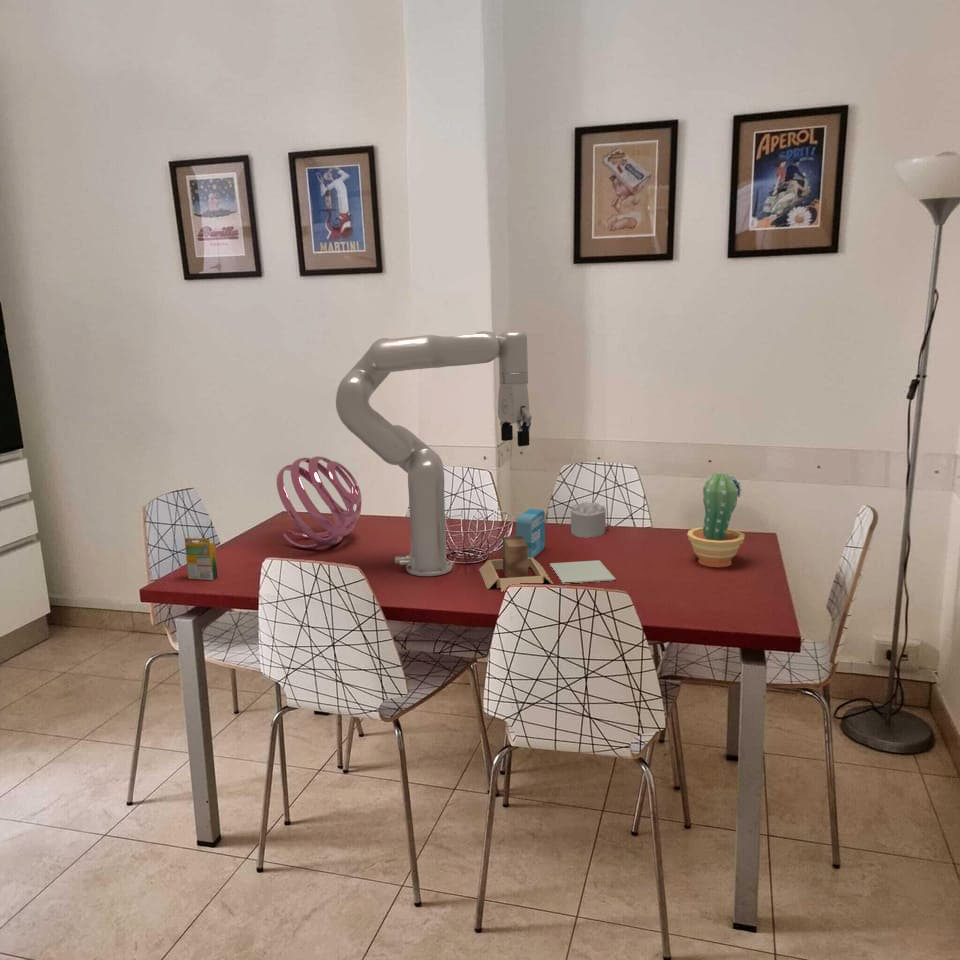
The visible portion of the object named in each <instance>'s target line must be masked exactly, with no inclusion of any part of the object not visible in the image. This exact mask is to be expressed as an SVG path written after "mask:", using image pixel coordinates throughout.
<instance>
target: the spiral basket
mask: <svg viewBox="0 0 960 960" xmlns="http://www.w3.org/2000/svg"><path fill="white" fill-rule="evenodd" d="M320 460H321V461H323V462H325V463H326V467H325V466H324V465H323V463H320V462H319V461H320ZM302 462H303V463H306V464H308V465H307V466H308V467H307V468H308V470H307V469H305V468H304V467H302V466H300V463H302ZM285 471H290V478H291V482H292V486H293V488H294V491H295V493H296V495H297V497H298V499H299V501H300V502H301V504H302V505H303V507H304V508H305V510H306V511H307V513H308V514H309V515H310V516H311V517H312V518H313V520H315V521H316V523H317V524H319V526H320V527H322V528H323V529H324V530H326V531H323V532H315V531H314V530H313V529H312V528H311V527H310V526H309V525H308V524H307V523H306V522H305V521H304V520H303V519H302V517H301V516H300V515H299V513H298V512H297V511H296V509H295V507H294V506H293V504H292V502H291V500H290V498H289V495H288V493H287V491H286V488H285V483H284V474H285V473H284V472H285ZM319 472H320V473H322V474H323V476H324V477H325V478H326V479H327V480H328V481H329V483H331V485H332V486H333V487H334V489H335V490H336V491H337V493H338V494H339V497H340V498H341V500H342V502H343V504H344V506H345V508H343V507H342V506H341V505H340V504H339V503H337V502H336V501H335V499H334V498H333V496H332V494H330V492H329V491H328V490H327V488H326V487H325V485H324V484H323V483H324V482H322V478H321V477H320V474H319ZM336 472H337V473H338V475H339V476H340V477H341V478H342V479H343V480H344V482H345V484H346V486H348V489H349V490H350V492H349V491H348V490H347V489H346V488H345V487H344V485H343V484H342V483H341V481H340V480H339V477H338V476H337V473H336ZM301 477H303V479H305V480H306V481H308V482H309V483H310V484H311V485H312V486H313V488H314V489H315V490H316V492H317V494H318V495H319V497H320V499H321V500H322V502H323V503H325V505H326V506H327V508H329V510H330V512H331V515H332V516H333V520H334V522H335V524H334V523H332V522H331V521H330V520H328V519H327V518H326V517H325V516H324V515H323V514H322V513H321V511H320V510H319V509H318V508H317V507H316V506H315V504H314V502H313V501H312V500H311V498H310V496H309V495H308V493H307V491H306V489H305V487H304V485H303V483H302V479H301ZM276 489H277V493H278V496H279V500H280V501H281V504H282V506H283V508H284V509H285V511H286V512H287V514H288V516H289V517H290V519H291V520H292V521H293V522H294V524H295V525H296V526H297V527H298V529H299V530H300V531H301V532H302V533H301V532H296V531H292V530H287V533H288V534H290V535H293V536H296V537H299V538H303V539H304V538H305V539H311V540H312V541H314V542H315V544H310V545H304V544H299V543H297V542H295V541H293V540H292V539H290V537H289V536H288V535H287V534H286V533H283V534H282V535H283V538H284V539H285V540H286V541H287V542H288V543H289V544H291V545H293V546H295V547H296V548H300V549H305V550H313V549H319V548H325V547H333V546H336V545H337V544H339V543H340V542H341V541H342V540H343V538H344V537H346V536H349V535H350V534H351V533H352V532H353V530H354V528H355V526H356V521H357V520H359V518H360V516H361V514H362V513H361V512H362V500H363V499H362V492H361V489H360V487H359V484H358V482H357V480H356V478H355V477H354V476H353V474H352V473H351V471H349V470H348V469H347V468H346V467H345V466H344V465H342V463H339V461H335V460H331V459H329V458H327V457H325V456H320V455H319V456H313V457H301V458H298V459H296V460H294V461H293V462H292V464H287V465H285V466H284V467H282V468H281V469H280V470H279V471H278V474H277V476H276ZM355 505H356V508H355V509H354V506H355ZM348 528H349V529H348Z"/></svg>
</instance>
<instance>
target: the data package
mask: <svg viewBox="0 0 960 960" xmlns="http://www.w3.org/2000/svg"><path fill="white" fill-rule="evenodd" d="M545 521H546V515H545V510H543V509H534V508H528V509H527V510H525V511H524V512H522V513H521V514H520V515H518V516H517V518H516V520H515V536H522V537H523V539H524V541H525V542H526V544H527V546H528V557H530V558H532V557H533V558H534V559H535V557H536V556H537V555H538V554H540V553H541V552H542V551H543V550H544V549H545V546H546V531H545V529H546V522H545Z"/></svg>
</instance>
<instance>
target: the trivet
mask: <svg viewBox="0 0 960 960" xmlns="http://www.w3.org/2000/svg"><path fill="white" fill-rule="evenodd" d="M549 567H550V568H551V567H552V568H553V569H552V568H551V569H552V571H553V570H554V571H555V572H554V571H553V572H554V574H555V573H556V574H557V575H556V574H555V575H556V576H558V577H559V578H558V577H557V578H558V580H559V579H560V580H561V581H560V580H559V581H560V583H561V582H562V583H561V584H562V585H563V584H565V585H571V584H570V583H565V582H574V583H580V584H584V583H583V582H586V583H585V584H588V583H587V582H594V581H595V583H601V582H600V581H610V582H613V581H612V580H616V577H615V576H614V575H613V574H612V573H611V572H610V570H609V569H607V567H606V566H605V565H604V564H603V563H602V562H601V560H584V561H568V562H551V563H549ZM596 581H597V582H596Z"/></svg>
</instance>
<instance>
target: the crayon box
mask: <svg viewBox="0 0 960 960" xmlns="http://www.w3.org/2000/svg"><path fill="white" fill-rule="evenodd" d="M197 541H199V542H197ZM184 544H185V556H186V557H185V558H186V567H187V568H186V569H187V570H186V571H187V579H188V580H202V581H203V580H207V581H214V580H216V579H217V578H218V577H219V576H218V568H217V567H218V566H217V564H218V563H217V555H216V554H217V553H216V545H215V544H216V543H215V542H210V538H197V537H196V538H192V537H185V538H184Z"/></svg>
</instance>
